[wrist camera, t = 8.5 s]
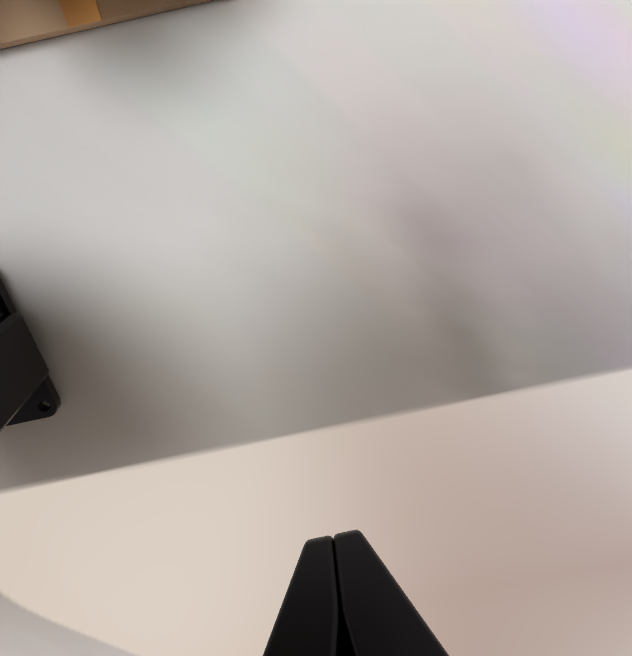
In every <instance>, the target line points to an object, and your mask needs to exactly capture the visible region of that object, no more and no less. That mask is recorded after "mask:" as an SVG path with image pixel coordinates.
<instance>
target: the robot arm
mask: <svg viewBox="0 0 632 656" xmlns="http://www.w3.org/2000/svg"><path fill="white" fill-rule="evenodd" d="M48 372H49V370H48V368H47V366H46V364H45V362H44V360H43V358H42V356H41V354H40V352H39V350H38V348H37V346H36V344H35V342H34V340H33V338H32V336H31V334H30V332H29V330H28V328H27V326H26V324H25V322H24V320H23V318H22V317H21V316H20V315H18V314H17V312H16V310H15V308H14V306H13V304H12V302H11V300H10V298H9V295H8V293H7V291H6V289H5V287H4V285H3V283H2V281H1V279H0V432H1V431H2V430H3V429H4V428H5V426H9V425H13V424H18V423H22V422H27V421H32V420H36V419H41V418H46V417H50V416H52V415H54V414H55V413H56V412H57V410H58V409H59V407H60V405H61V401H60V398H59V396H58V394H57V392H56V390H55V388H54V386H53V384H52V382H51V380H50V378H49V376H48ZM42 401H45V402H47V403H49V404H50V406H45V405H44V404H43V403H42ZM263 656H449V655H448V654H447V652H446V651H445V650H444V648H443V647H442V645H441V644H440V642H439V641H438V640H437V638H436V637H435V635H434V634H433V633H432V631H431V630H430V628H429V627H428V626H427V624H426V623H425V621H424V620H423V618H422V617H421V616H420V614H419V613H418V611H417V610H416V609H415V607H414V606H413V604H412V603H411V601H410V600H409V599H408V597H407V596H406V594H405V593H404V592H403V590H402V589H401V587H400V586H399V585H398V583H397V582H396V580H395V579H394V578H393V576H392V575H391V574H390V572H389V571H388V569H387V568H386V566H385V565H384V563H383V562H382V561H381V559H380V558H379V556H378V555H377V554H376V552H375V551H374V550H373V548H372V547H371V545H370V544H369V542H368V541H367V540H366V538H365V537H364V536H363V534H362V533H361V532H360V531H358V530H352V531H347V532H343V533H338V534H336V535H335V536H334V540H333V538H332V537H331V536H324V537H319V538H314V539H310V540H308V541H307V542H306V543H305V545H304V547H303V550H302V552H301V555H300V558H299V560H298V563H297V566H296V568H295V571H294V574H293V577H292V579H291V582H290V585H289V587H288V590H287V592H286V595H285V598H284V600H283V603H282V606H281V608H280V611H279V614H278V617H277V619H276V622H275V624H274V627H273V630H272V632H271V635H270V638H269V640H268V643H267V646H266V648H265V652H264V654H263Z"/></svg>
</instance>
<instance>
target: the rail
mask: <svg viewBox="0 0 632 656" xmlns="http://www.w3.org/2000/svg"><path fill="white" fill-rule="evenodd" d="M209 1H213V0H0V49H3V48H7V47H12V46H16V45H21V44H25V43H29V42H34V41H38V40H42V39H47V38H51V37H56V36H60V35H64V34H69V33H73V32H78V31H82V30H86V29H91V28H95V27H99V26H104V25H108V24H113V23H117V22H121V21H126V20H130V19H134V18H139V17H143V16H148V15H152V14H156V13H161V12H165V11H169V10H174V9H178V8H183V7H187V6H191V5H196V4H200V3H205V2H209Z"/></svg>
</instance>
